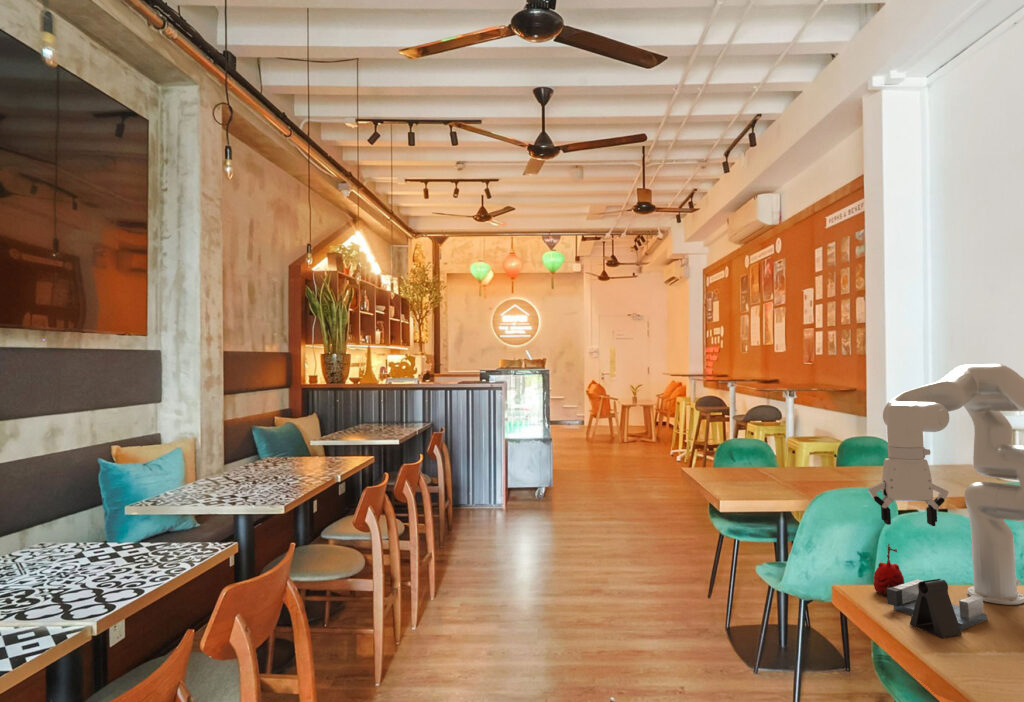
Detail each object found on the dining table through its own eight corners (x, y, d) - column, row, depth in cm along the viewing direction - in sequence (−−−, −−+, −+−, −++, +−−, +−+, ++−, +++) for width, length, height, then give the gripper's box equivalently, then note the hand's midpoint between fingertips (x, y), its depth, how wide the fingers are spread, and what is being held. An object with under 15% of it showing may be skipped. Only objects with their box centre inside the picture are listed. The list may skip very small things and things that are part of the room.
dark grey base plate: (919, 600, 175) (918, 580, 176) (987, 619, 161) (985, 597, 161) (893, 609, 170) (892, 588, 170) (961, 630, 155) (960, 607, 155)
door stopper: (962, 635, 152) (959, 584, 153) (942, 638, 151) (939, 587, 151) (928, 621, 161) (926, 573, 161) (909, 624, 159) (907, 576, 160)
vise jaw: (917, 593, 176) (916, 579, 176) (926, 596, 173) (926, 581, 173) (887, 603, 169) (886, 588, 169) (897, 606, 167) (896, 591, 167)
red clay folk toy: (903, 592, 182) (900, 539, 183) (906, 600, 176) (904, 545, 176) (873, 589, 185) (870, 537, 186) (875, 597, 179) (872, 543, 179)
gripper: (939, 452, 158) (942, 522, 157) (862, 451, 162) (865, 519, 161) (952, 456, 151) (956, 529, 150) (871, 455, 155) (875, 526, 154)
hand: (909, 524), depth 155 cm, fingers open, 9 cm apart
